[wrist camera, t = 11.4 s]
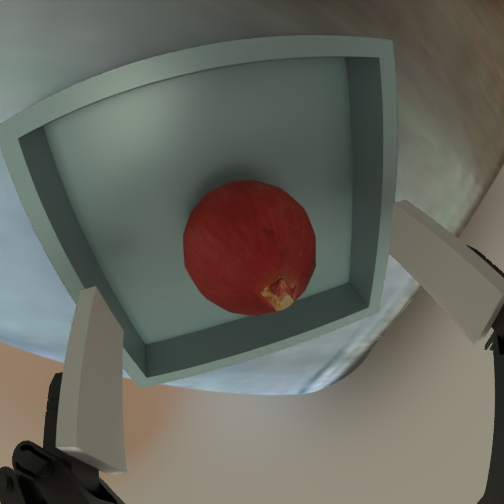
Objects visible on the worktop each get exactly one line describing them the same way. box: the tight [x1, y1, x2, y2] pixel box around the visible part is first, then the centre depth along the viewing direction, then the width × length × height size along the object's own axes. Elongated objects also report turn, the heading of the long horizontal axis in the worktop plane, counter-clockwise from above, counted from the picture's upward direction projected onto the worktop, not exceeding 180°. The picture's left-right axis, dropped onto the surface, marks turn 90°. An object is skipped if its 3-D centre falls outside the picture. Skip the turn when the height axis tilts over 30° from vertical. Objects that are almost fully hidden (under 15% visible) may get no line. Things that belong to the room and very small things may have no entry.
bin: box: [0, 35, 398, 388], centre depth 16 cm, size 18×18×4 cm
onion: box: [183, 180, 316, 316], centre depth 13 cm, size 6×6×8 cm
